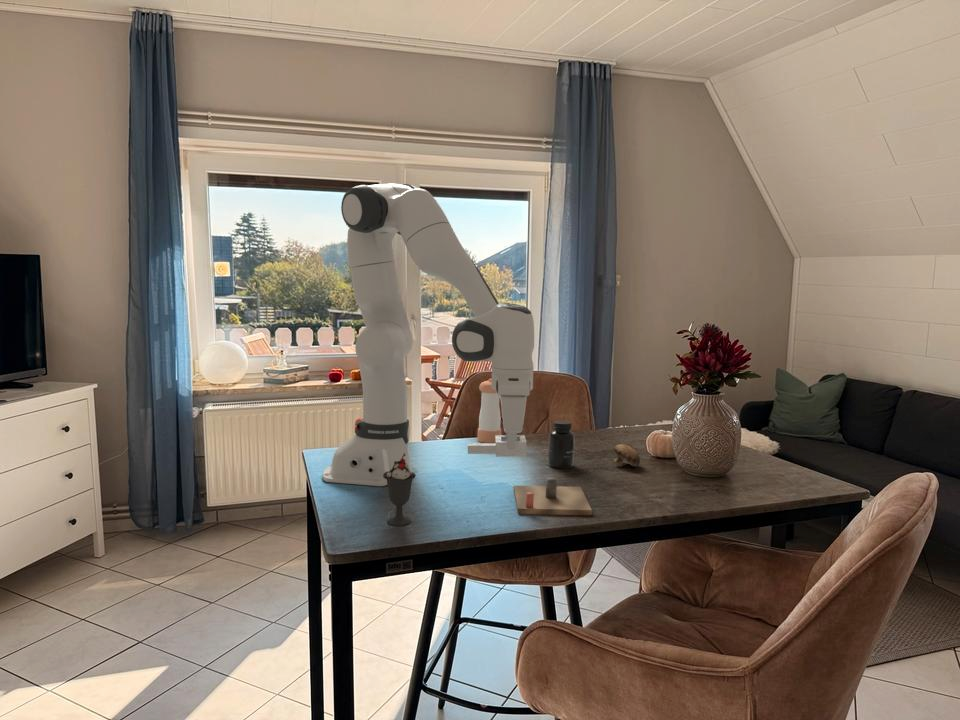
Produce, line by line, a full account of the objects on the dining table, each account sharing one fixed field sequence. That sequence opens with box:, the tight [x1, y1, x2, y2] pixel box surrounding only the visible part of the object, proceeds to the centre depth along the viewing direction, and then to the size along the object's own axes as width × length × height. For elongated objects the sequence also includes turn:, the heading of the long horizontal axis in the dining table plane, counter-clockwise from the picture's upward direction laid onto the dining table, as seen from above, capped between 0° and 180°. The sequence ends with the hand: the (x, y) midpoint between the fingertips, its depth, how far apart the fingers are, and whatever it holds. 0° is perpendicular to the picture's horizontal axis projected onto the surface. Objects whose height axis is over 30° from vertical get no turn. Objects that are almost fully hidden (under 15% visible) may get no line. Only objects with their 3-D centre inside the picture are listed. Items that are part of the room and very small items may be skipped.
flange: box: [467, 434, 527, 458], centre depth 150 cm, size 12×6×3 cm, turn 90°
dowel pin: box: [526, 492, 534, 508], centre depth 152 cm, size 2×2×3 cm
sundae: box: [383, 453, 417, 527], centre depth 144 cm, size 7×7×15 cm
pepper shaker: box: [477, 378, 502, 443], centre depth 213 cm, size 7×7×19 cm
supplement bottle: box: [547, 420, 575, 469], centre depth 188 cm, size 7×7×12 cm
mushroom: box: [613, 443, 641, 468], centre depth 190 cm, size 8×8×6 cm
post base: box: [513, 476, 593, 516], centre depth 159 cm, size 16×16×6 cm
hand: (510, 444), depth 150 cm, fingers closed on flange, 6 cm apart
